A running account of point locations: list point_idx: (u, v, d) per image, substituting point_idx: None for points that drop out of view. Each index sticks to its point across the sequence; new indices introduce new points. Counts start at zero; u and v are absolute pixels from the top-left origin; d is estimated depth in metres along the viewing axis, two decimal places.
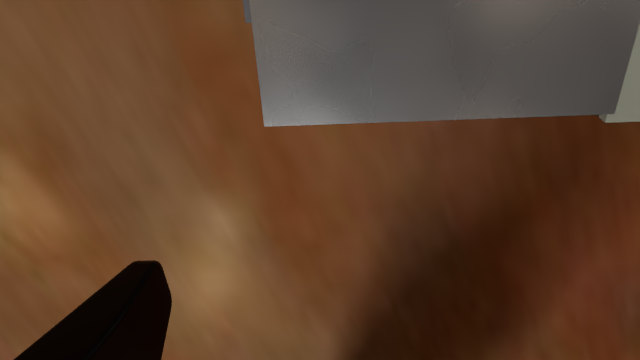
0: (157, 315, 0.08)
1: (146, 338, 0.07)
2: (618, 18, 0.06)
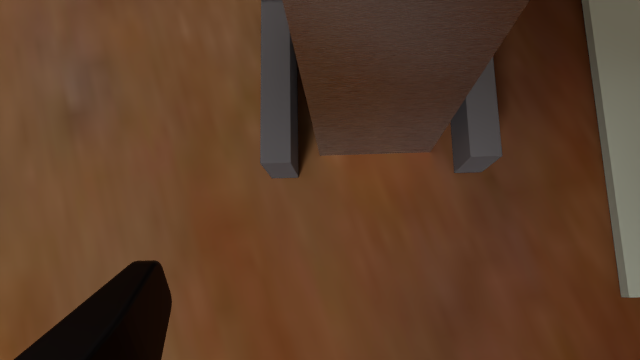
0: (157, 315, 0.08)
1: (146, 338, 0.07)
2: None
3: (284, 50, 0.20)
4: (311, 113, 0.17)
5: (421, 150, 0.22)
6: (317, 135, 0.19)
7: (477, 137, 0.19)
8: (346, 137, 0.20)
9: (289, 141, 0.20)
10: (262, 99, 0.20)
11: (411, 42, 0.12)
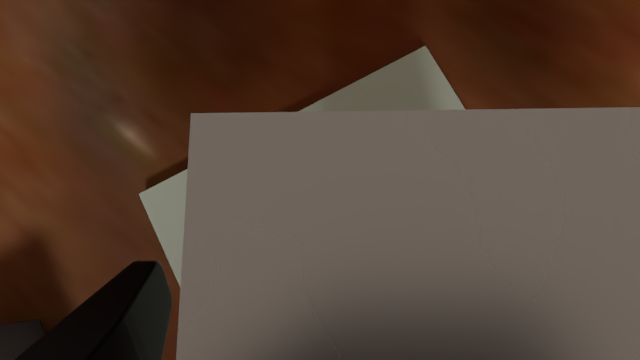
0: (157, 315, 0.08)
1: (146, 338, 0.07)
2: None
3: None
4: None
5: None
6: None
7: None
8: None
9: None
10: None
11: None
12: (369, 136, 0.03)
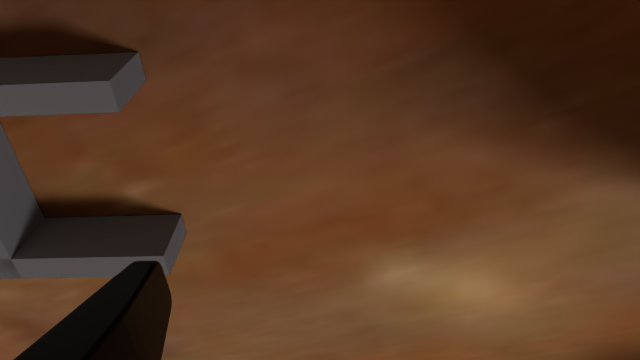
0: (157, 315, 0.08)
1: (146, 338, 0.07)
2: None
3: (60, 261, 0.22)
4: None
5: None
6: None
7: (95, 104, 0.18)
8: None
9: (144, 256, 0.22)
10: (112, 275, 0.22)
11: None
12: None
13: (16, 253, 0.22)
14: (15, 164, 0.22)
